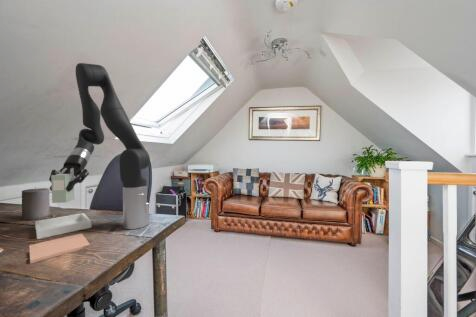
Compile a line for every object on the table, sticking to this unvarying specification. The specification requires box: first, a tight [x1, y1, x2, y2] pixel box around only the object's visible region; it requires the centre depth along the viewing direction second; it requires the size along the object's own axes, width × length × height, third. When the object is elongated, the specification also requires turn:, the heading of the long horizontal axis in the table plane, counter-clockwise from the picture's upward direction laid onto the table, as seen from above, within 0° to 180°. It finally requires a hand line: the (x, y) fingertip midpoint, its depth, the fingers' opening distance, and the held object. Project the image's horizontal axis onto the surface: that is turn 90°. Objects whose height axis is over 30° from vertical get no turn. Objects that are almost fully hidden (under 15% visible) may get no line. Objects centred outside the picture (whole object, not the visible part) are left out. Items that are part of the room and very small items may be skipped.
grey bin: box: [34, 212, 92, 240], centre depth 83 cm, size 16×16×4 cm
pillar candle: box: [21, 186, 50, 222], centre depth 99 cm, size 10×10×15 cm
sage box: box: [50, 174, 75, 204], centre depth 83 cm, size 5×5×11 cm
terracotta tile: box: [28, 232, 91, 264], centre depth 67 cm, size 14×14×1 cm
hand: (60, 190), depth 81 cm, fingers closed on sage box, 5 cm apart
